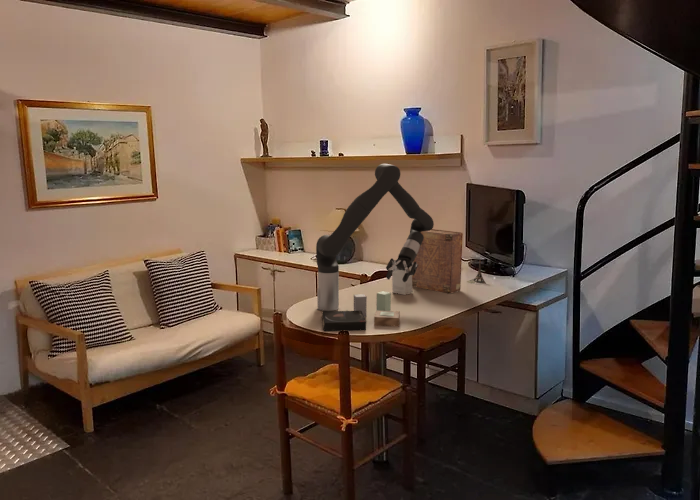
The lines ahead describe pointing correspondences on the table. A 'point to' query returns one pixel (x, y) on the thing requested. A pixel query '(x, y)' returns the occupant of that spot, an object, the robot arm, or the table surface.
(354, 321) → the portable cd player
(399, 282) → the skincare box
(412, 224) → the robot arm
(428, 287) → the book
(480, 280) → the eiffel tower figurine
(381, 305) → the sage pillar
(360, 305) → the grey pillar
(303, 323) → the table surface
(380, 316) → the walnut plinth
